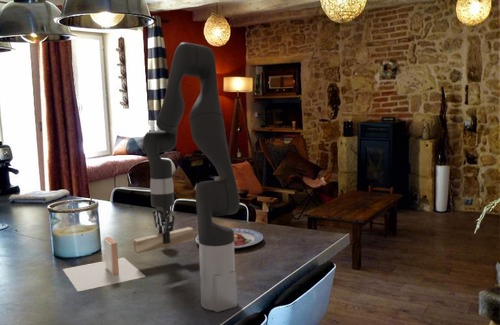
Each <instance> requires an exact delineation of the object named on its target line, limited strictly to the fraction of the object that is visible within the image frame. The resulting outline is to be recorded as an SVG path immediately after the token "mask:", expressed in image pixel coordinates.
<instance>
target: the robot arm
mask: <svg viewBox="0 0 500 325" xmlns="http://www.w3.org/2000/svg"><path fill="white" fill-rule="evenodd" d="M170 65H171V66H170V71H169V75H168V80H167V86H166V90H165V96H164V99H163V102H162V105H161V107H160V110H159V113H158V115H157V117H156V126H157V128H158V129H159V130H153V131H152V130H150V131H147V132H146V133H145V135H144V136H143V142H142V143H143V149H144V151H145V153H146V157H147V161H148V164H149V169H150V170H149V171H150V184H149V185H150V186H149V188H150V189H149V190H150V203H151V204H150V205H151V207H153V208H155V209H154V210H152V216H153V222H154V225H155V226H154V227H155V228H156V229H157V231H158V234H160V233H163V243H164V244H168V243H170V232H171V231H173V230H174V223H175V218H176V217H175V215H172V211H171V207H172V206H174V204H175V191H174V190H175V189H174V188H175V187H174V180H173V164H172V162H171V160H169V159H167V158H166V159H164V158H162V157H161V156H160V153H169V152H171V151H173V150H174V149H175V148H176V146H177V142H178V129H179V125H180V123H181V121H182V119H183V116H184V112H185V106H186V104H185V100H184V97H183V92H182V86H181V85H182V84H181V83H182V80H183V77H184V76H187V77H193V78H194V77H195V78H198V79H199V82H200V91H199V92H200V93H199V95H198V97H197V98H196V101H195V102H194V104H193V106H192V108H191V111H190V113H189V126H190V131H191V137H192V141H193V142H194V144H195V145H196V146H197V147H198V148H199V150H200V152H202V153H203V154H204V155H205V157H206V158H207V159H208V160H209V161H210V162H211V163H212V165H213V167H215V168H214V169H215V170H216V172H217V174H218V175H217V176H218V177H219V179H216V180H204V181H200V182H198V183H197V184H196V187H195V205H196V213H197V214H196V216H197V230H198V231H197V232H198V235H199V244H198V254H199V255H198V256H199V280H200V282H199V284H200V285H199V286H200V304H201V307H202V308H203V309H205V310H208V311H213V312H215V313H219V312H222V311H226V310H230V309H232V308H236V307H238V302H237V300H238V299H237V272H236V269H235V264H236V263H235V249H234V232H233V230H232V229H231V227H228V226H224V225H220V224H218V223H215V222H213V217H219V216H230V215H234V214H237V213H238V211H239V210H240V194H239V193H240V192H239V188H238V184H237V180H236V176H235V173H234V168H233V166H232V165H233V164H232V162H231V157H230V152H229V146H228V141H227V135H226V128H225V127H226V126H225V122H224V117H223V112H222V107H221V106H222V105H221V101H220V96H219V88H218V79H217V77H218V76H217V66H216V59H215V54H214V51H213V50H212V48H210V46H209V47H208V46H205V45H202V44H197V43H192V42H185V41H184V42H180V43H179V45H178V46H177V47H176V49H175V51H174V54H173V58H172V61H171V64H170Z"/></svg>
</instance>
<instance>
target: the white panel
mask: <svg viewBox="0 0 500 325" xmlns="http://www.w3.org/2000/svg"><path fill="white" fill-rule="evenodd" d="M118 267H119V274H117V275H112V274H111V273H110V272H109V271H108V270H107V269H106V267H105V260H104V261H99V262H93V263H88V264H82V265H77V266H72V267H71V266H70V267H66V268H62V271H63V272H64V274H65V275H66V276H67V278H68V280H69V281H70V282H71V284H72V285H73V287H74V288H75V290H76V291H77V292H84V291H86V290H93V289H96V288H101V287H105V286H109V285H115V284H118V283H125V282H128V281H134V280H138V279H143V278H146V275H145V274H144V273H143V272H142V271H141V270H139V269H138V268H137V267H136V266H135V265H134V264H132V263H131V262H130V261H128V259H126V258H125V256H124V257H120V258H119V257H118Z"/></svg>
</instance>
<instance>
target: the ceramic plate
mask: <svg viewBox="0 0 500 325" xmlns="http://www.w3.org/2000/svg"><path fill="white" fill-rule="evenodd" d="M230 228H231V227H230ZM231 229H232V230H233V232H234V250H236V249H241V248H246V247H250V246H253V245H256V244H259V243H260V242H261V241H263V238H264V236H263V234H262V233H261V232H258V231H256V230H253V229H247V228H236V227H235V228H234V227H233V228H231ZM194 240H195V242H196V243H197V244H198V245H199V234H198V235H197V236H196V237H195V238H194Z"/></svg>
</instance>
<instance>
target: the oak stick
mask: <svg viewBox="0 0 500 325" xmlns="http://www.w3.org/2000/svg"><path fill="white" fill-rule="evenodd" d="M194 240H195V234H194V228H193V227H191V226H187V227H183V228H182V227H181V228H179V229H175V230H174V229H173V231H171V232H170V243H168V244H164V243H163V233H160V234H159V233H156V234H152V235H146V236H143V237H138V238H135V239H133V246H134V249H133V250H134V252H135V253H136V254H140V253H141V254H142V253H146V252H149V251H154V250H159V249H162V248H167V246H168V247H169V246H174V245H179V244H183V243H187V242H191V241H194Z"/></svg>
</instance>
